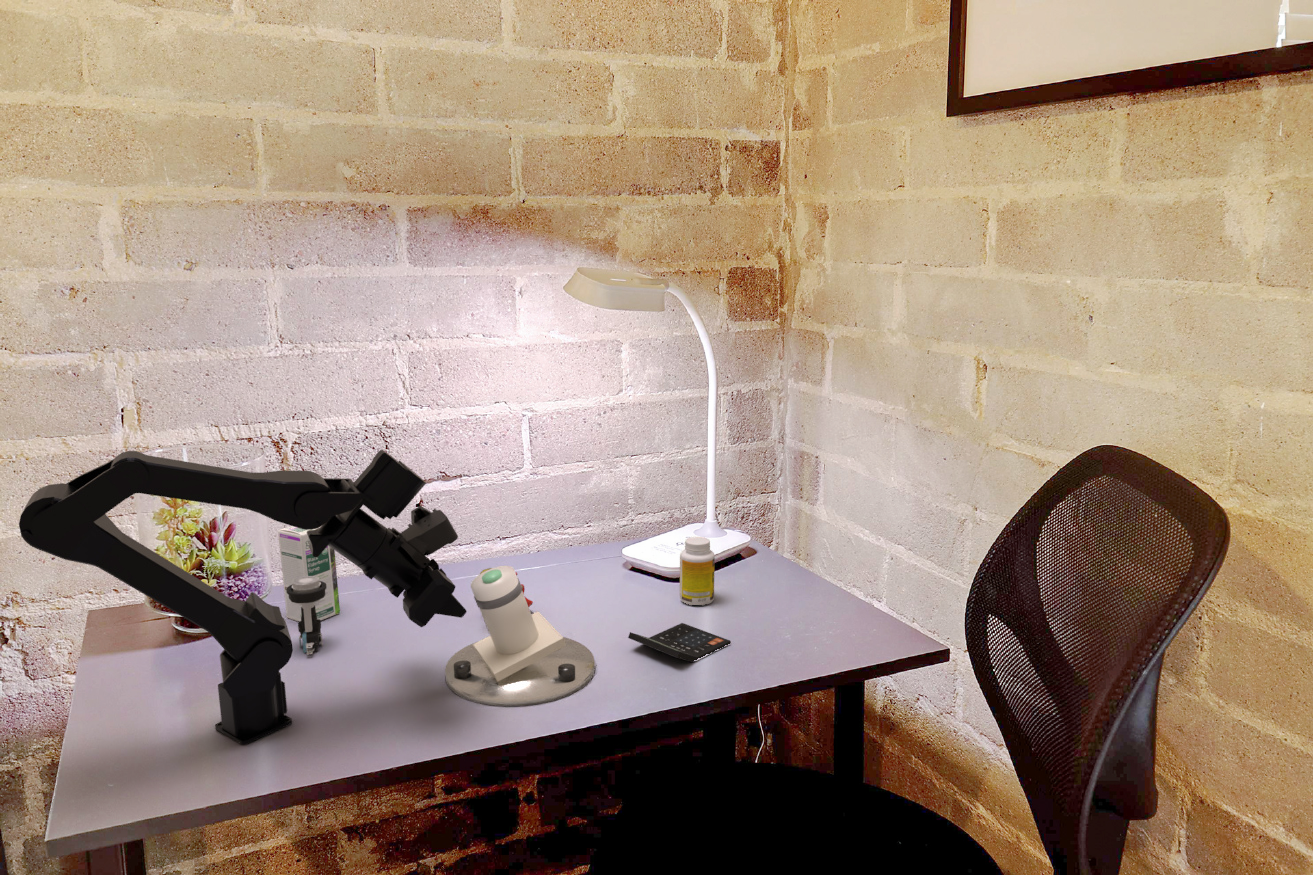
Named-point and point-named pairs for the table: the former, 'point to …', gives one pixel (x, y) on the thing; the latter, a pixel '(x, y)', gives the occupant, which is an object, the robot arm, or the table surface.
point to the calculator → (683, 642)
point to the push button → (308, 609)
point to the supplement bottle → (697, 572)
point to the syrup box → (307, 571)
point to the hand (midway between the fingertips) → (463, 613)
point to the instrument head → (510, 624)
